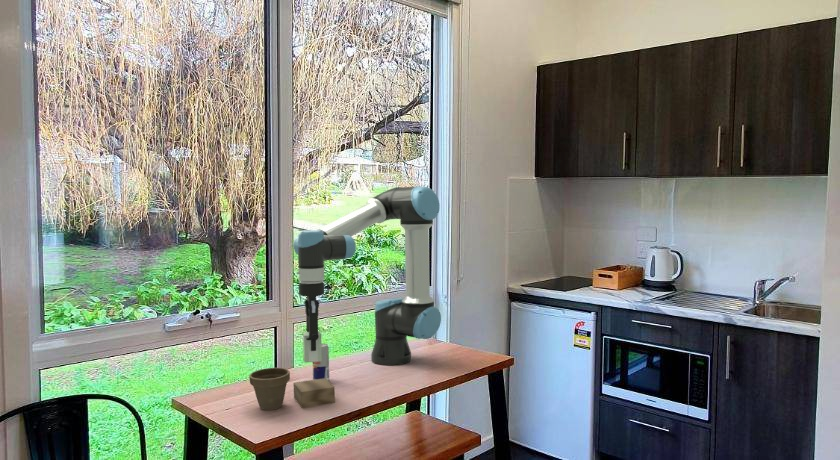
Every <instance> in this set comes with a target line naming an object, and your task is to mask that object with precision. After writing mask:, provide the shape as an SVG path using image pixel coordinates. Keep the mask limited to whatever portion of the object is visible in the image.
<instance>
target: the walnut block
mask: <svg viewBox="0 0 840 460" xmlns="http://www.w3.org/2000/svg"><path fill="white" fill-rule="evenodd" d="M335 388H336V387H335V385H333V384H332V383H331V382H330V380H327V379H326V378H323V379H316V380H313V379H310V380H303V381H295V382H293V400H295V401H296V403H297V404H298V405H299V407H301V409H305V408H310V407H316V406H322V405H328V404H334V403H336V396H335V395H336V393H335V392H336V391H335V390H336V389H335Z"/></svg>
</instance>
